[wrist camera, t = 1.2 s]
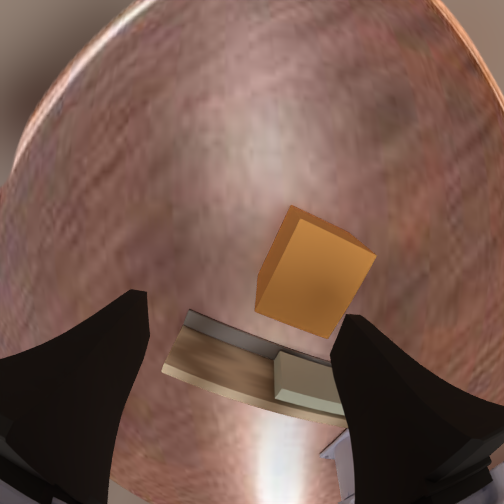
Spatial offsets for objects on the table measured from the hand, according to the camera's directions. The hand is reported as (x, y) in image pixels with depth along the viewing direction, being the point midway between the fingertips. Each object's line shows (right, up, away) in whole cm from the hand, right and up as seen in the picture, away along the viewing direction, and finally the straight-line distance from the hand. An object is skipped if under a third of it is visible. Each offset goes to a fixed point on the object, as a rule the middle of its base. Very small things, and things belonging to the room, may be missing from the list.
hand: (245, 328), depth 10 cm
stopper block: (+4, +3, +12) cm, 13 cm away
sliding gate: (+7, -7, +14) cm, 17 cm away
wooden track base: (+3, -7, +15) cm, 16 cm away
